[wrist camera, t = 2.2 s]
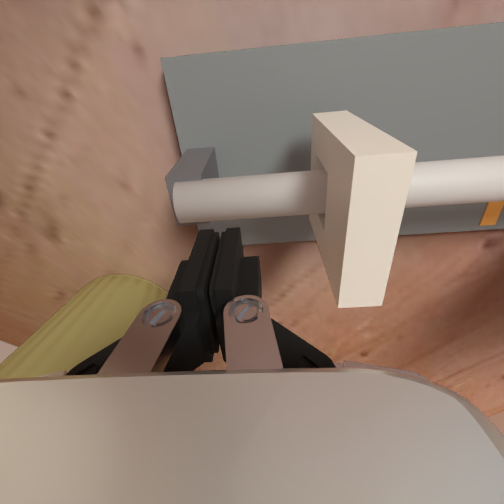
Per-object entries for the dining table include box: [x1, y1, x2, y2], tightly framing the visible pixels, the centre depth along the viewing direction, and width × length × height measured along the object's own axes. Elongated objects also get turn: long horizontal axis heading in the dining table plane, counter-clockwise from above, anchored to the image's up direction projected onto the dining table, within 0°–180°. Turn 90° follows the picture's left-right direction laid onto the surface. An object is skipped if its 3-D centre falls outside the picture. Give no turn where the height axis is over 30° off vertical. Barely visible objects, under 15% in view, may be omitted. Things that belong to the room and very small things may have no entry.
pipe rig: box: [160, 22, 504, 245], centre depth 18 cm, size 14×30×9 cm, turn 95°
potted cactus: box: [0, 274, 168, 379], centre depth 20 cm, size 15×15×30 cm
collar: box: [309, 110, 418, 308], centre depth 15 cm, size 7×2×9 cm, turn 5°
